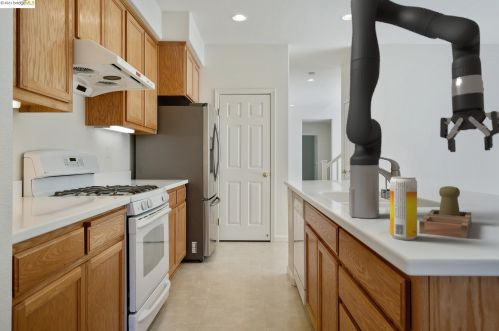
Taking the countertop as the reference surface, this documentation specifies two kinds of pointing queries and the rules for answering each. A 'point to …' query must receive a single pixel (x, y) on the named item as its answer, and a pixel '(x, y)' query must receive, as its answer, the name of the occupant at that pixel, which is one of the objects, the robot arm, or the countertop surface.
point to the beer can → (403, 207)
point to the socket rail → (446, 224)
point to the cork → (449, 201)
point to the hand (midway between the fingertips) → (469, 151)
